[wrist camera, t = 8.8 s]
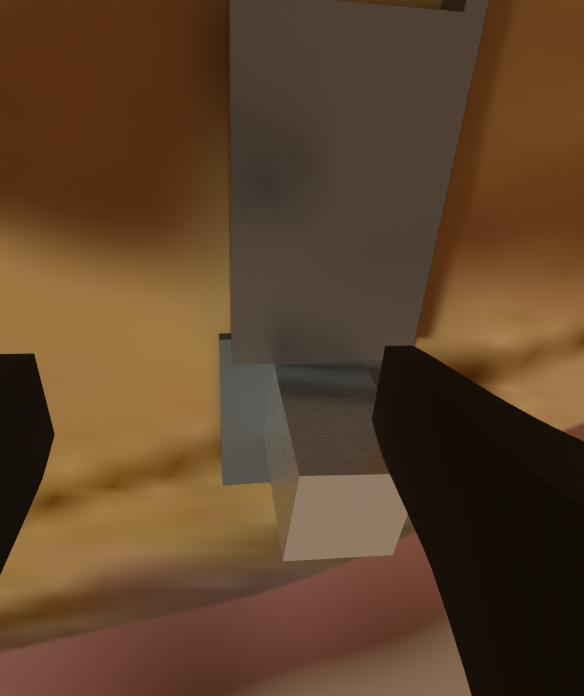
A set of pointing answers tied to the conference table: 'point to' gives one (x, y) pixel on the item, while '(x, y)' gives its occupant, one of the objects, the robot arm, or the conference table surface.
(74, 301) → the conference table surface
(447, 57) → the rail
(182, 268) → the conference table surface
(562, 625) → the robot arm
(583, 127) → the conference table surface
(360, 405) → the pale grey square block
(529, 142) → the conference table surface
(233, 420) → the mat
